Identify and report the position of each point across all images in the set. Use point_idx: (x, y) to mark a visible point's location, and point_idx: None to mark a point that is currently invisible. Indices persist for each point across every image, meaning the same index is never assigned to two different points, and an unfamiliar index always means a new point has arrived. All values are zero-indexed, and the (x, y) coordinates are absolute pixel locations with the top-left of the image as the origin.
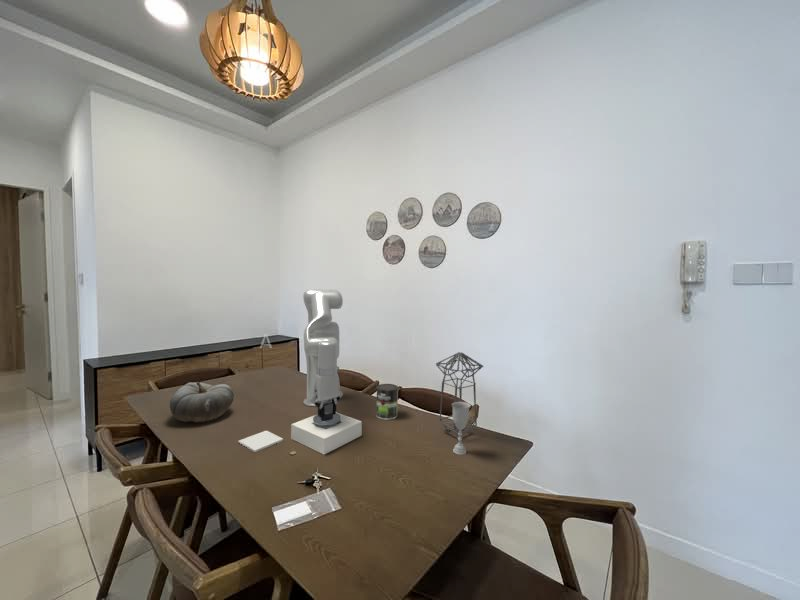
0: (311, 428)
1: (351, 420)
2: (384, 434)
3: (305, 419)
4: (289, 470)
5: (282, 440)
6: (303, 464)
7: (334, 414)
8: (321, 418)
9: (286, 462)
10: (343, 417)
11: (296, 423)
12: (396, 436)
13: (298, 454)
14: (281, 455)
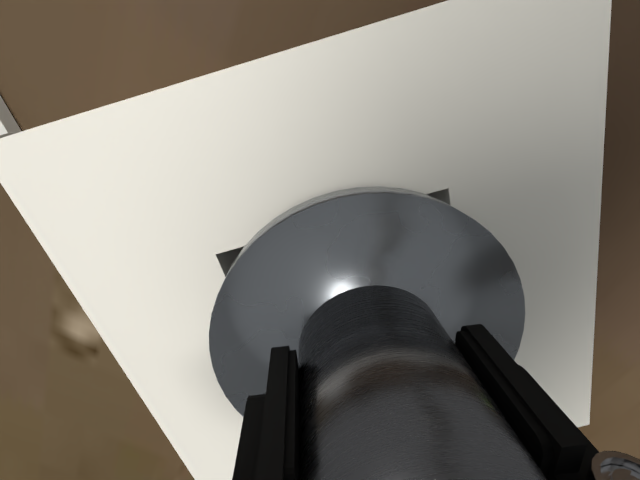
0: (182, 355)
1: (549, 377)
2: (608, 391)
3: (182, 102)
4: (46, 458)
5: (11, 133)
6: (119, 445)
7: (485, 317)
8: (298, 362)
9: (35, 399)
10: (549, 292)
11: (47, 160)
12: (625, 430)
13: (110, 360)
14: (7, 325)
